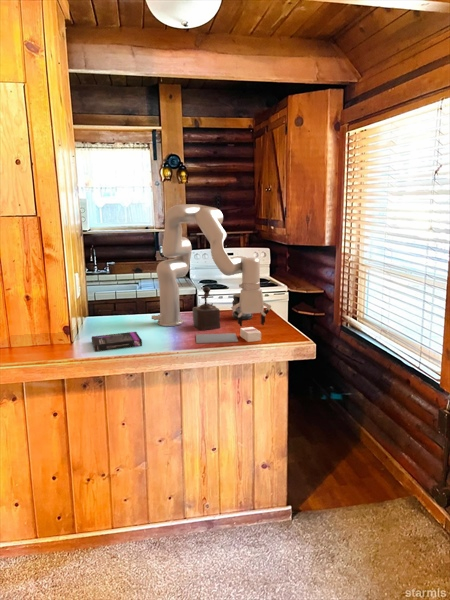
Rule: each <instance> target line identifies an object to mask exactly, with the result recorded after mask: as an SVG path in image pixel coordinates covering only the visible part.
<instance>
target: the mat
mask: <svg viewBox="0 0 450 600" xmlns="http://www.w3.org/2000/svg"><path fill="white" fill-rule="evenodd" d="M195 340H196V341H195V342H196V344H197V345H198V344H201V345H202V344H224V343H225V344H227V343H228V344H230V343H239V340H238V337H237V334H236V332H233V333H231V332H229V333H228V332H227V333H206V334H205V333H204V334H203V333H202V334H199V333H198V334H195Z"/></svg>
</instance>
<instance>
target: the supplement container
mask: <svg viewBox="0 0 450 600" xmlns="http://www.w3.org/2000/svg"><path fill="white" fill-rule="evenodd" d="M232 298H233V300H232V303H231V304H232V306H234V305H236V304H238V303H240V293H236V294H233V297H232ZM235 310H236V311H237V312H239V311H240V306H239V307H238V308H236V309H235ZM231 316H232V318H233V319H234V320H237V321H238V316H237V315H236V314H234V312H233V311H232V315H231ZM253 316H254V315H253V313H243V314H242V315H241V317H242V321H247V320H251V319H252V318H253Z"/></svg>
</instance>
